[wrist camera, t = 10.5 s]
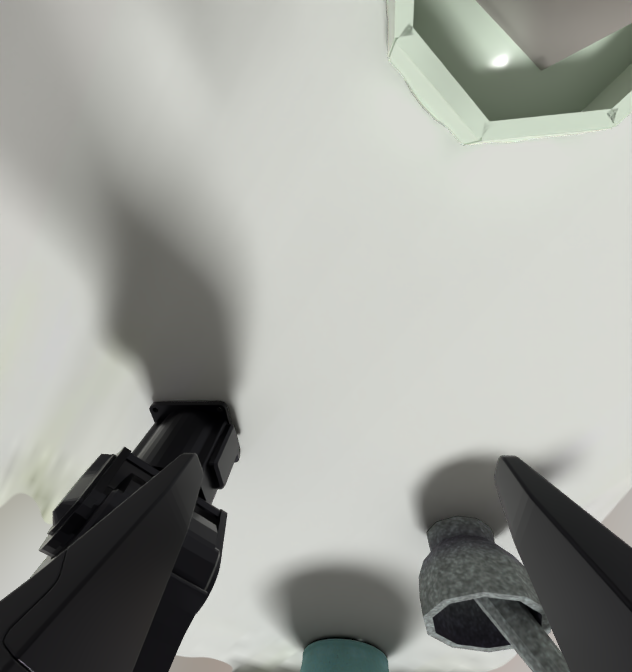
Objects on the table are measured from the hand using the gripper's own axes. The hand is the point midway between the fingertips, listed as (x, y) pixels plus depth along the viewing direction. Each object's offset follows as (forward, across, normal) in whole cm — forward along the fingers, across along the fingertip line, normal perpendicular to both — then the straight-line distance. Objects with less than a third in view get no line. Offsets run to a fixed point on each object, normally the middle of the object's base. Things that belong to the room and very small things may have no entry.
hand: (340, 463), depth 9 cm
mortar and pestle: (+13, -11, +25) cm, 30 cm away
